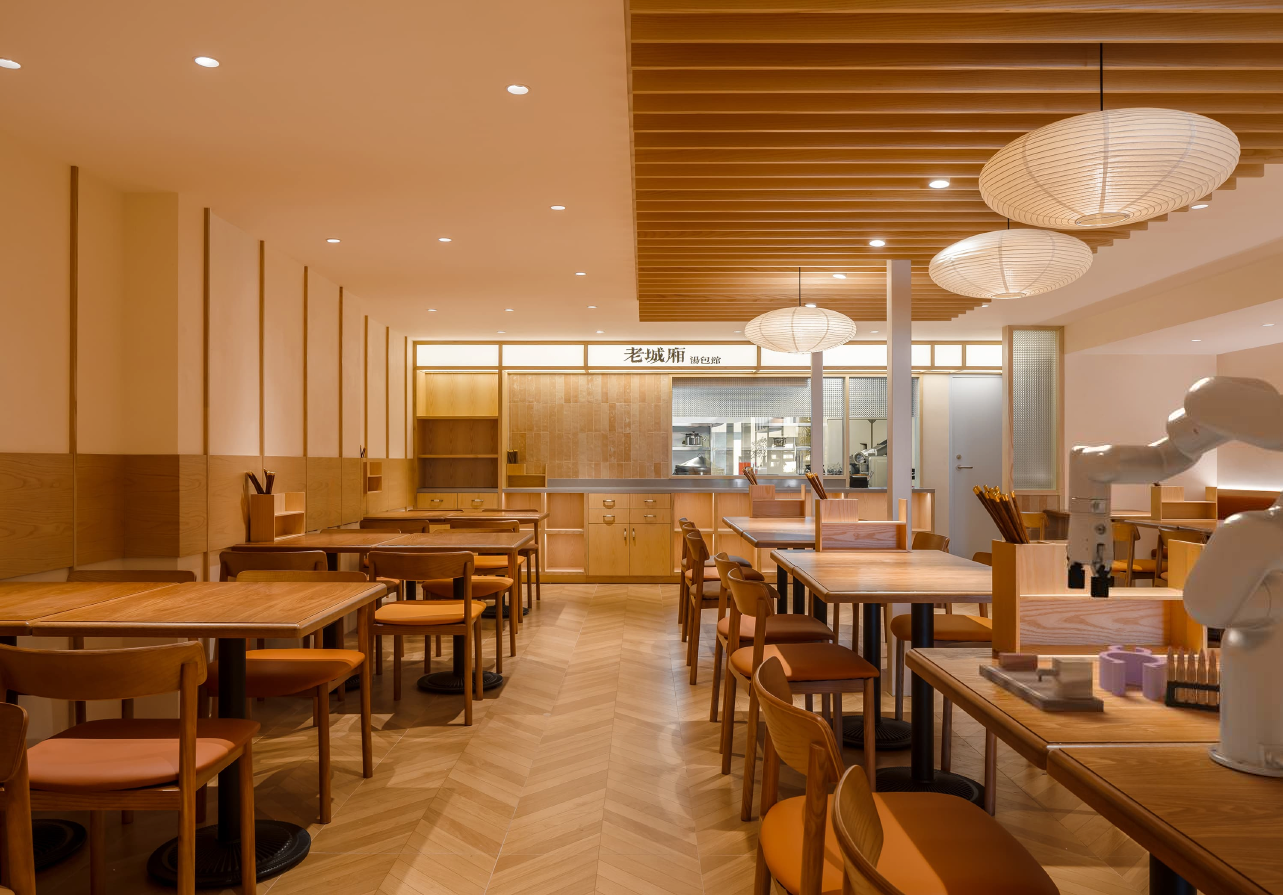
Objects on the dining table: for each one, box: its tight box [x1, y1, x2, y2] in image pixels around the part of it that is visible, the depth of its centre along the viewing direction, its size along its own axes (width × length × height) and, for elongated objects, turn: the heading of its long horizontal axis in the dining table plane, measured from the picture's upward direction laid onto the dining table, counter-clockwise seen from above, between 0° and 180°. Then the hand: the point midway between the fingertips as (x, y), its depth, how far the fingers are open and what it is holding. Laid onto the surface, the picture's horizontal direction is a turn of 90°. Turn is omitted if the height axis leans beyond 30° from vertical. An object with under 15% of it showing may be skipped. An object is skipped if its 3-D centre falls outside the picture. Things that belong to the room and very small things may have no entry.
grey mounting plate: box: [978, 652, 1105, 712], centre depth 174 cm, size 28×12×5 cm, turn 2°
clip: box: [1098, 645, 1167, 701], centre depth 178 cm, size 20×12×7 cm, turn 152°
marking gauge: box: [1036, 656, 1094, 698], centre depth 164 cm, size 4×10×7 cm, turn 92°
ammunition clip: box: [1164, 645, 1220, 714], centre depth 162 cm, size 11×2×12 cm, turn 65°
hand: (1087, 592), depth 164 cm, fingers open, 9 cm apart
